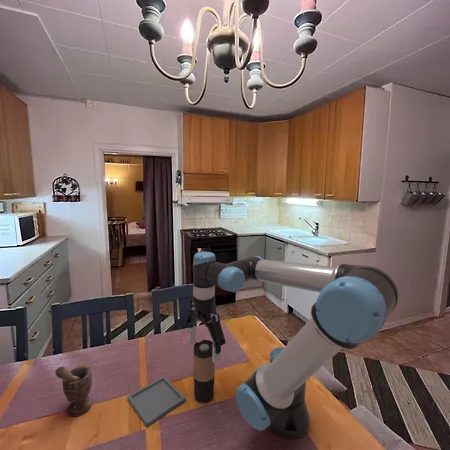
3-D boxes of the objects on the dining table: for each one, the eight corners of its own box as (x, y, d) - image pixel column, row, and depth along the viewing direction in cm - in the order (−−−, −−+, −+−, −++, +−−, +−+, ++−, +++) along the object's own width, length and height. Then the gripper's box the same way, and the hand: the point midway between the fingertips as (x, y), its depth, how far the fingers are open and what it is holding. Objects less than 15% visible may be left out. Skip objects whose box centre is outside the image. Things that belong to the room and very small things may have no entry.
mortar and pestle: (84, 425, 81) (80, 368, 79) (55, 429, 80) (50, 371, 77) (96, 397, 93) (93, 346, 90) (71, 400, 91) (67, 348, 89)
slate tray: (185, 401, 91) (185, 397, 91) (146, 427, 81) (146, 423, 81) (164, 379, 102) (164, 375, 102) (127, 399, 92) (127, 396, 91)
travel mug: (211, 405, 90) (211, 353, 87) (190, 402, 91) (190, 350, 88) (216, 389, 97) (216, 340, 94) (197, 386, 98) (197, 338, 96)
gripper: (237, 304, 83) (235, 364, 86) (191, 283, 101) (191, 333, 103) (220, 311, 78) (219, 374, 80) (175, 288, 95) (175, 340, 98)
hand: (203, 351), depth 92 cm, fingers open, 13 cm apart
